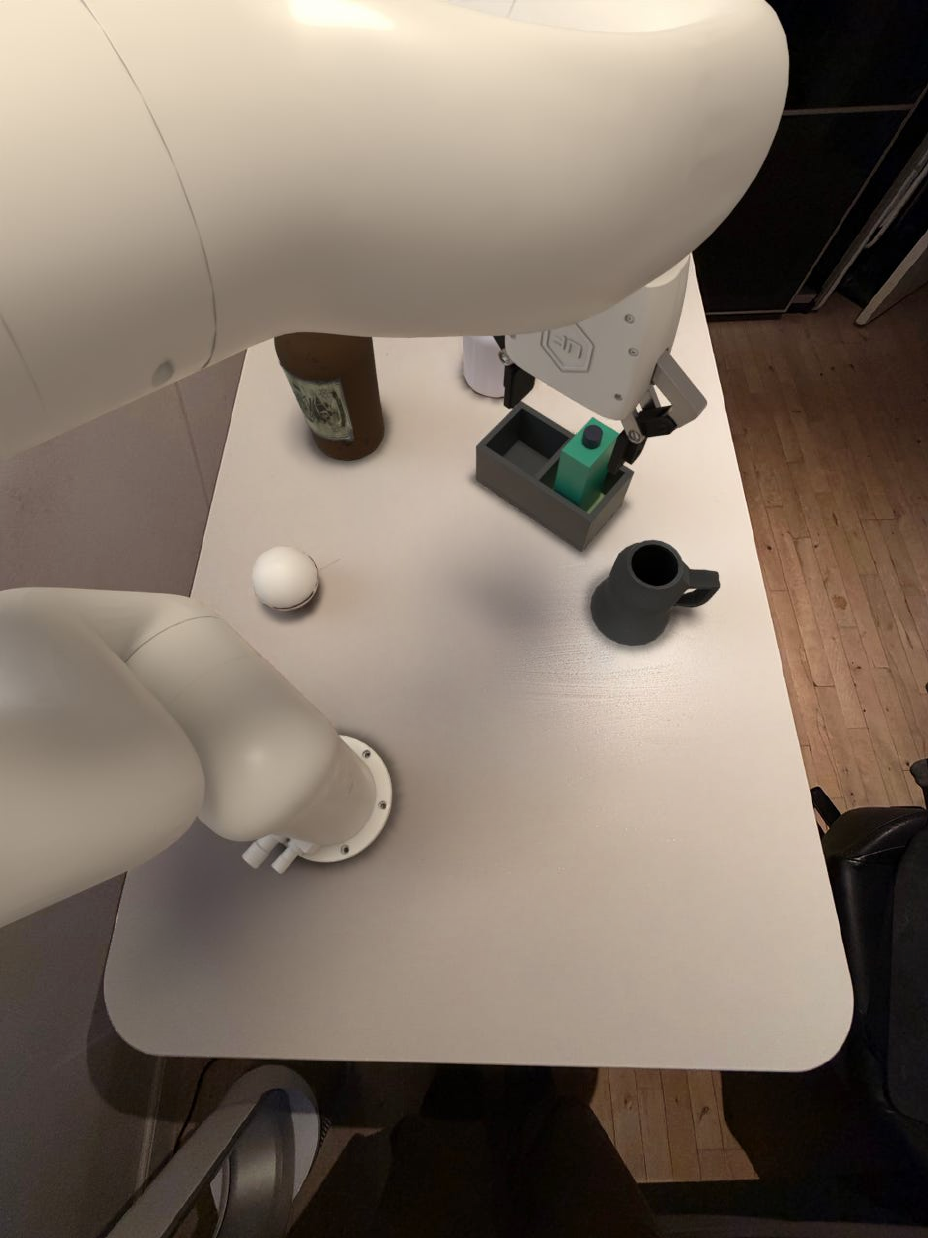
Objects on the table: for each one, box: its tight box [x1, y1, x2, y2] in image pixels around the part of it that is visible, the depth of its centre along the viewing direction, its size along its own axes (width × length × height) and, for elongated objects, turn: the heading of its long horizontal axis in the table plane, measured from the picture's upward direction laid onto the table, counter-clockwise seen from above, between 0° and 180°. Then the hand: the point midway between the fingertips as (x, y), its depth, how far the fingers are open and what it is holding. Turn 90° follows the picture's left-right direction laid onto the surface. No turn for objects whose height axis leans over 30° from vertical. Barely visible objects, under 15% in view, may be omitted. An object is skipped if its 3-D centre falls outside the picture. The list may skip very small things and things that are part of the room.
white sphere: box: [250, 545, 341, 612], centre depth 72 cm, size 10×7×7 cm
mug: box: [589, 539, 721, 647], centre depth 68 cm, size 12×9×11 cm
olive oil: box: [273, 332, 385, 461], centre depth 72 cm, size 11×11×25 cm
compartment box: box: [475, 400, 635, 552], centre depth 77 cm, size 9×16×7 cm, turn 50°
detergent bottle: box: [554, 416, 621, 512], centre depth 72 cm, size 6×4×14 cm, turn 140°
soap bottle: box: [462, 336, 505, 398], centre depth 76 cm, size 9×9×25 cm
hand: (568, 428), depth 49 cm, fingers open, 9 cm apart
